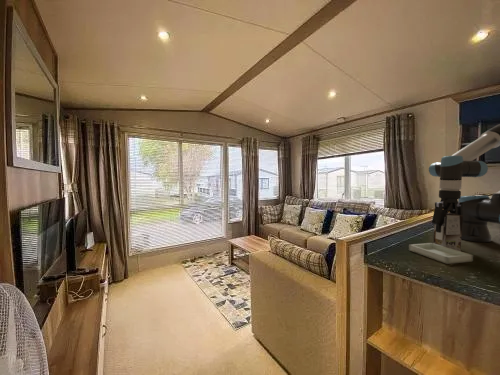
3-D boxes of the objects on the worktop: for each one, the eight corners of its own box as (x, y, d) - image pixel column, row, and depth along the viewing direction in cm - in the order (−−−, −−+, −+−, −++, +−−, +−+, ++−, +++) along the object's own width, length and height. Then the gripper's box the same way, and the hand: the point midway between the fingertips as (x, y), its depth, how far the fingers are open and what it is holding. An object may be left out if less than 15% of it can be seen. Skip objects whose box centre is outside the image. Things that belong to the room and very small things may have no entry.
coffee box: (461, 251, 100) (463, 215, 99) (444, 250, 101) (446, 214, 100) (447, 245, 109) (449, 212, 108) (432, 244, 110) (434, 211, 109)
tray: (431, 248, 104) (431, 242, 104) (472, 261, 88) (473, 255, 88) (408, 250, 101) (408, 244, 101) (447, 264, 85) (447, 257, 85)
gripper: (458, 189, 109) (455, 235, 111) (423, 189, 104) (420, 237, 106) (476, 190, 102) (473, 239, 103) (440, 190, 97) (437, 242, 98)
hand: (446, 238), depth 104 cm, fingers closed on coffee box, 8 cm apart
